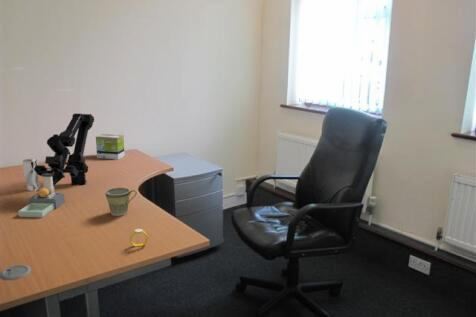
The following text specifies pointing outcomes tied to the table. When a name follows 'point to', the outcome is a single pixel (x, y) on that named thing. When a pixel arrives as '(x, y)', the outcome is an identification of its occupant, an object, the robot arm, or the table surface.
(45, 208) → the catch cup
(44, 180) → the beige upright block
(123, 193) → the ceramic cup
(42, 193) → the ball
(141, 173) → the table surface
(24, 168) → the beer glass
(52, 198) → the launcher deck
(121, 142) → the tea box
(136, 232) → the watch
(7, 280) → the table surface
